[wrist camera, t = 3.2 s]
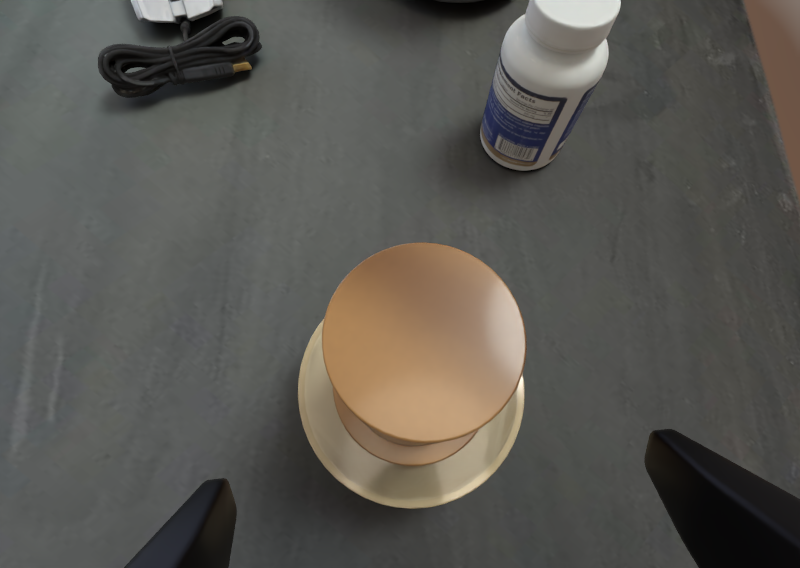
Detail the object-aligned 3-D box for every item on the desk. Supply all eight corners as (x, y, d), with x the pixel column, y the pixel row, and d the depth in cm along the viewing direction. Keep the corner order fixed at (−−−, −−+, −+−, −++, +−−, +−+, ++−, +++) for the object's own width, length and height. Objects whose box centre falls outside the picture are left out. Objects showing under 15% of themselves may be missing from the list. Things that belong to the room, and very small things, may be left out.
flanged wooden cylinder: (442, 499, 17) (482, 540, 9) (303, 410, 18) (237, 380, 10) (514, 355, 19) (596, 291, 11) (385, 283, 20) (380, 180, 12)
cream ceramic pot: (444, 536, 20) (459, 562, 16) (280, 429, 22) (250, 424, 17) (527, 364, 23) (560, 343, 19) (378, 281, 25) (374, 242, 20)
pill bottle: (534, 97, 30) (595, -56, 21) (575, 157, 28) (661, 18, 19) (464, 121, 29) (496, -27, 20) (502, 184, 27) (555, 53, 18)
